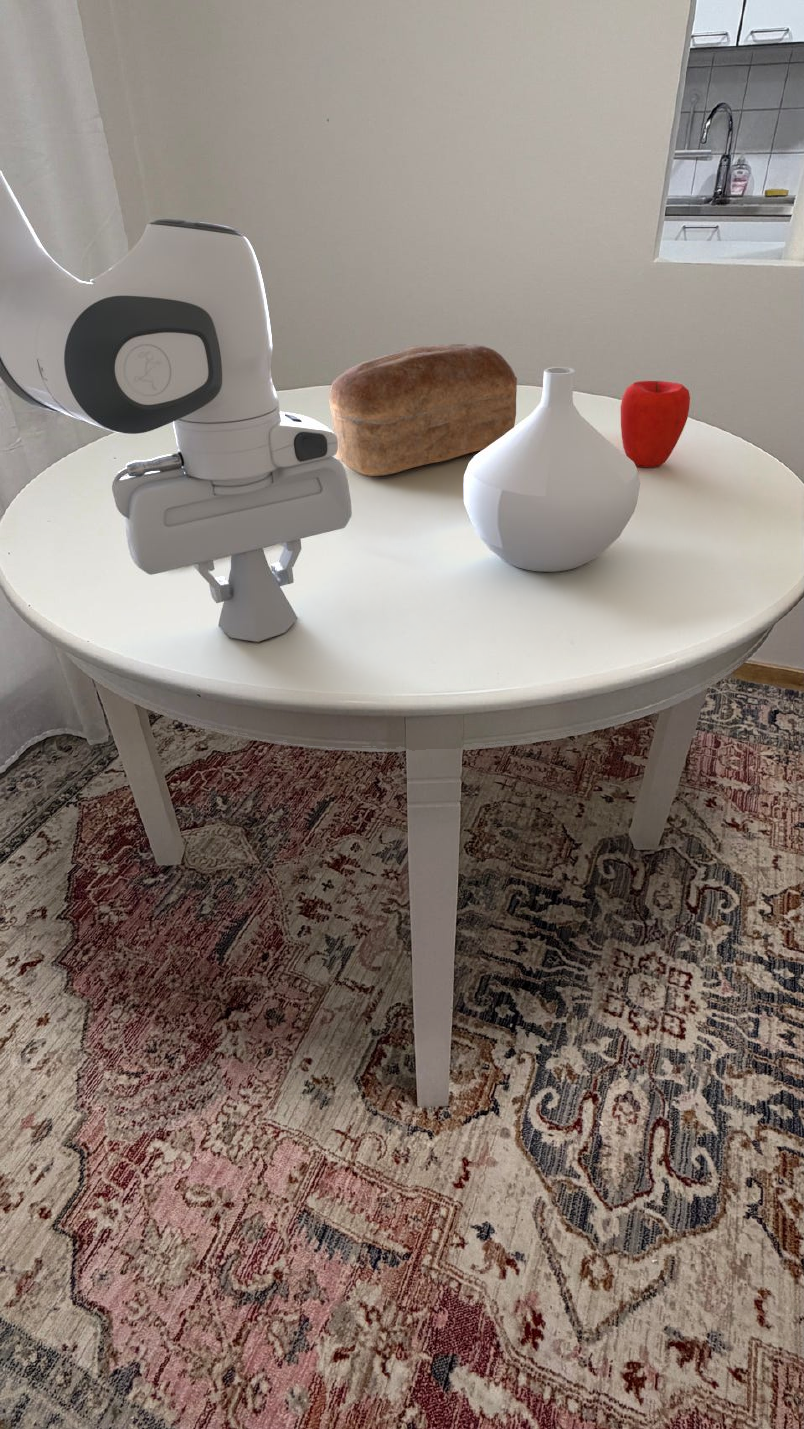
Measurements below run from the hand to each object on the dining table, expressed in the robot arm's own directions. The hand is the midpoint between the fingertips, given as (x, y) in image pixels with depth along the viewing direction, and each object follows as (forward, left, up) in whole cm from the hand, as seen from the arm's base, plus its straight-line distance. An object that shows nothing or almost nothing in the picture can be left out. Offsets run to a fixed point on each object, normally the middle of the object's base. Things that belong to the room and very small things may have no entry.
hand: (253, 590), depth 75 cm
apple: (+63, +14, -4) cm, 65 cm away
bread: (+39, +34, -4) cm, 52 cm away
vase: (+33, -2, -4) cm, 33 cm away
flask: (0, 0, -4) cm, 4 cm away
